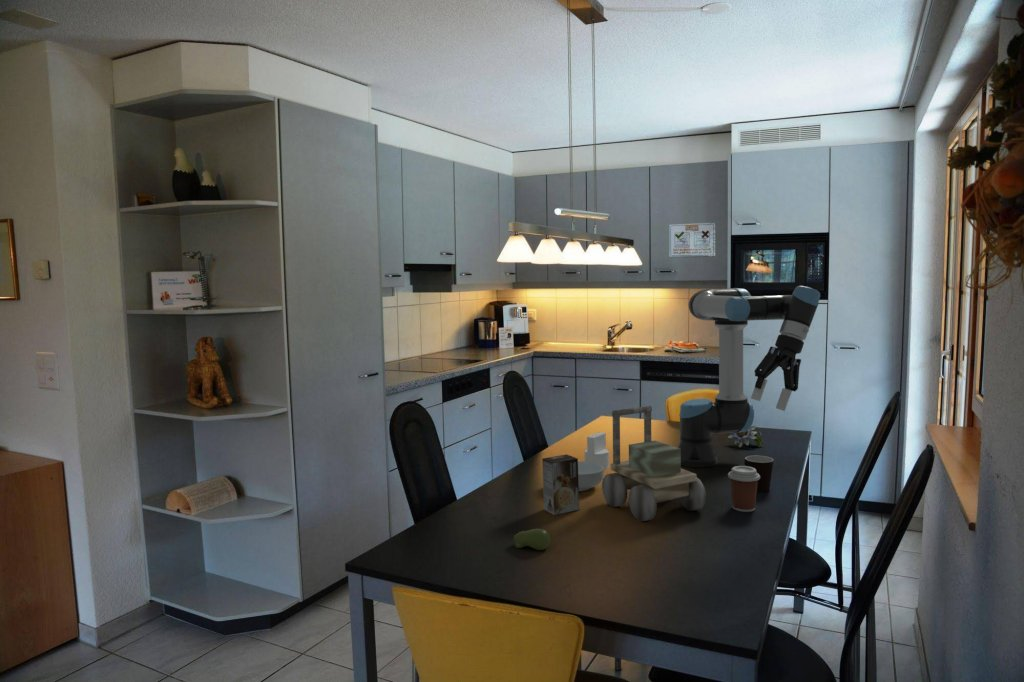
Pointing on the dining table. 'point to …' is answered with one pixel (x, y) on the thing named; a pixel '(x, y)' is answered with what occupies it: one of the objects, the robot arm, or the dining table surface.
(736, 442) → the passion flower
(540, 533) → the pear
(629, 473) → the wooden trolley
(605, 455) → the base with upright slab
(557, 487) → the coffee box
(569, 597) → the dining table surface
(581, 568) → the dining table surface
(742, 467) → the coffee cup
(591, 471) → the cereal bowl
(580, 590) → the dining table surface
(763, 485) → the coffee mug
